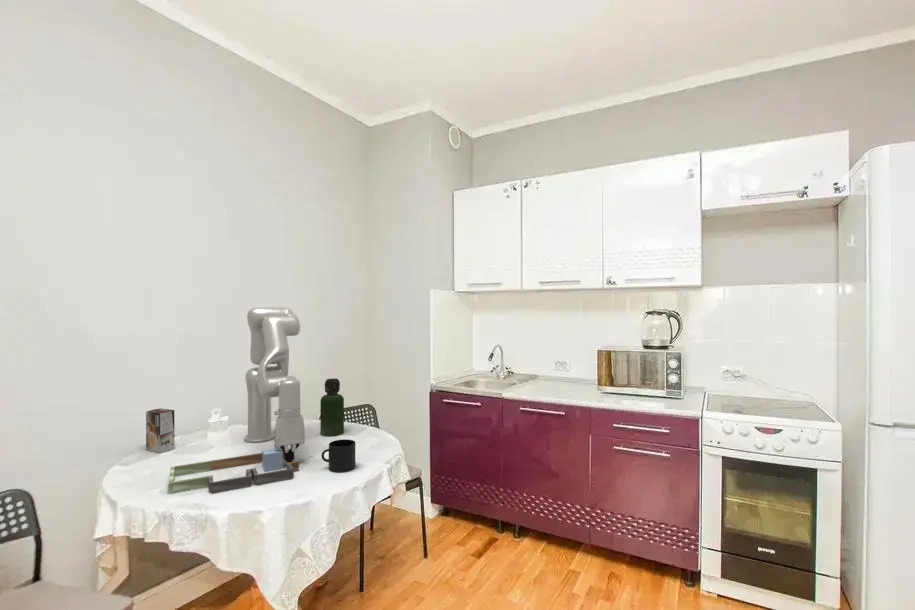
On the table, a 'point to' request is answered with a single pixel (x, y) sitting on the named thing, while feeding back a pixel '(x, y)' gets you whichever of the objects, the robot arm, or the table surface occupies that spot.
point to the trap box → (229, 483)
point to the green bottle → (332, 409)
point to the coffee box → (160, 430)
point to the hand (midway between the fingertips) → (289, 462)
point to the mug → (341, 455)
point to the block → (272, 459)
